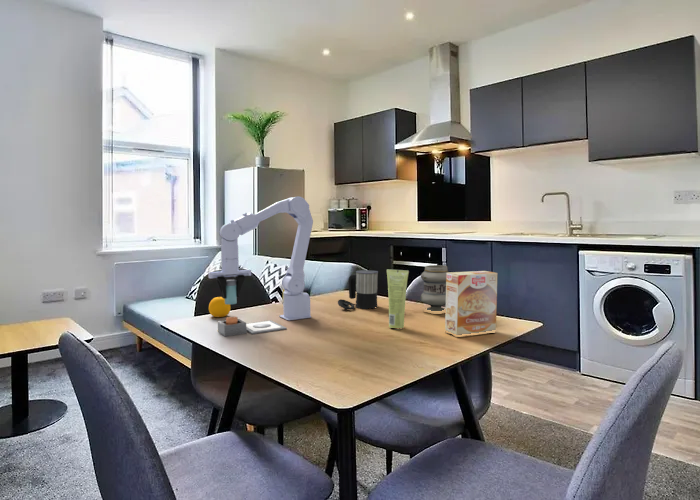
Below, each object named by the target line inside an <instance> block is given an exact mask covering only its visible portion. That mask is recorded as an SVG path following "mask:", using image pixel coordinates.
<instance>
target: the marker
mask: <svg viewBox="0 0 700 500" xmlns="http://www.w3.org/2000/svg"><path fill="white" fill-rule="evenodd" d="M226 280H227V281H226V299H225V304H230V305H236V304H237V302H238V301H237V298H238V297H237V291H236V280H234V279H226Z"/></svg>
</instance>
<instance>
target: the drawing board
mask: <svg viewBox="0 0 700 500" xmlns="http://www.w3.org/2000/svg"><path fill="white" fill-rule="evenodd" d="M287 329H288V328H287V327H286V326H284V325H281V324H280V323H277V322H275V321H273V320H271V319H270V320H264V321H262V320H261V321H256V322H250V323H249V322H248V323H247V322H246V333H249V334H250V335H257V334H262V333H263V334H264V333H270V332H277V331H282V330H283V331H284V330H287Z"/></svg>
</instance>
